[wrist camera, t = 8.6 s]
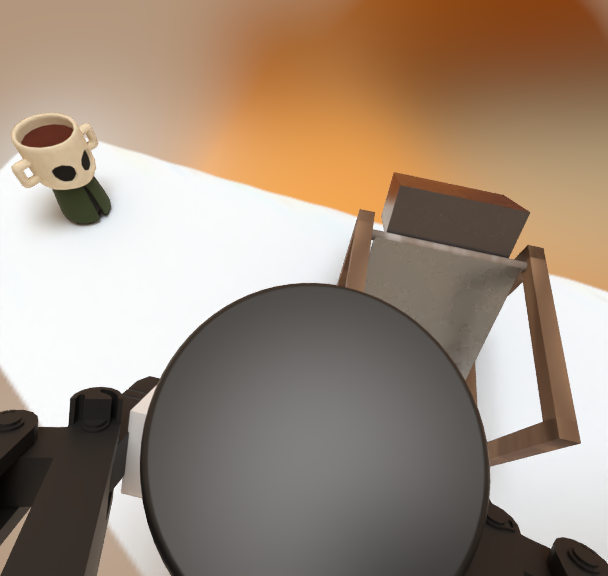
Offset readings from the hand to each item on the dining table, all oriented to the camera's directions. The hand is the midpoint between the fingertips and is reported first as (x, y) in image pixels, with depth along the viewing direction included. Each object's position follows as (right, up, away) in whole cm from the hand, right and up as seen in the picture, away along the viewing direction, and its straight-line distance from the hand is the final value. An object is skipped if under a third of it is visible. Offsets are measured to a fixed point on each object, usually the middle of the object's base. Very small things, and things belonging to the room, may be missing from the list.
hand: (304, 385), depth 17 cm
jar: (-1, -5, +2) cm, 6 cm away
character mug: (-31, +16, +37) cm, 51 cm away
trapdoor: (+14, +7, +28) cm, 32 cm away
